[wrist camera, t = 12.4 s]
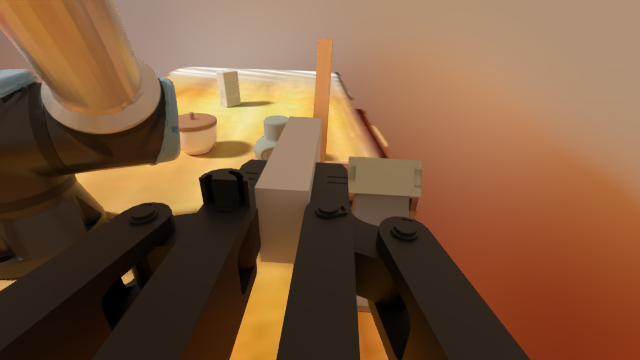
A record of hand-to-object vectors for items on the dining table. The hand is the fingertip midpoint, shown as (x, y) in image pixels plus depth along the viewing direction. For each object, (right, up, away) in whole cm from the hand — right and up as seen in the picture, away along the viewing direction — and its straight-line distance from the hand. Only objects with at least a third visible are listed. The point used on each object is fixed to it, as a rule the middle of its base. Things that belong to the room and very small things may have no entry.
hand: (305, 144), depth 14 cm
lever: (+5, -7, +20) cm, 21 cm away
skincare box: (-32, +26, +96) cm, 104 cm away
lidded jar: (-30, +6, +60) cm, 67 cm away
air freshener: (-9, +3, +56) cm, 57 cm away
